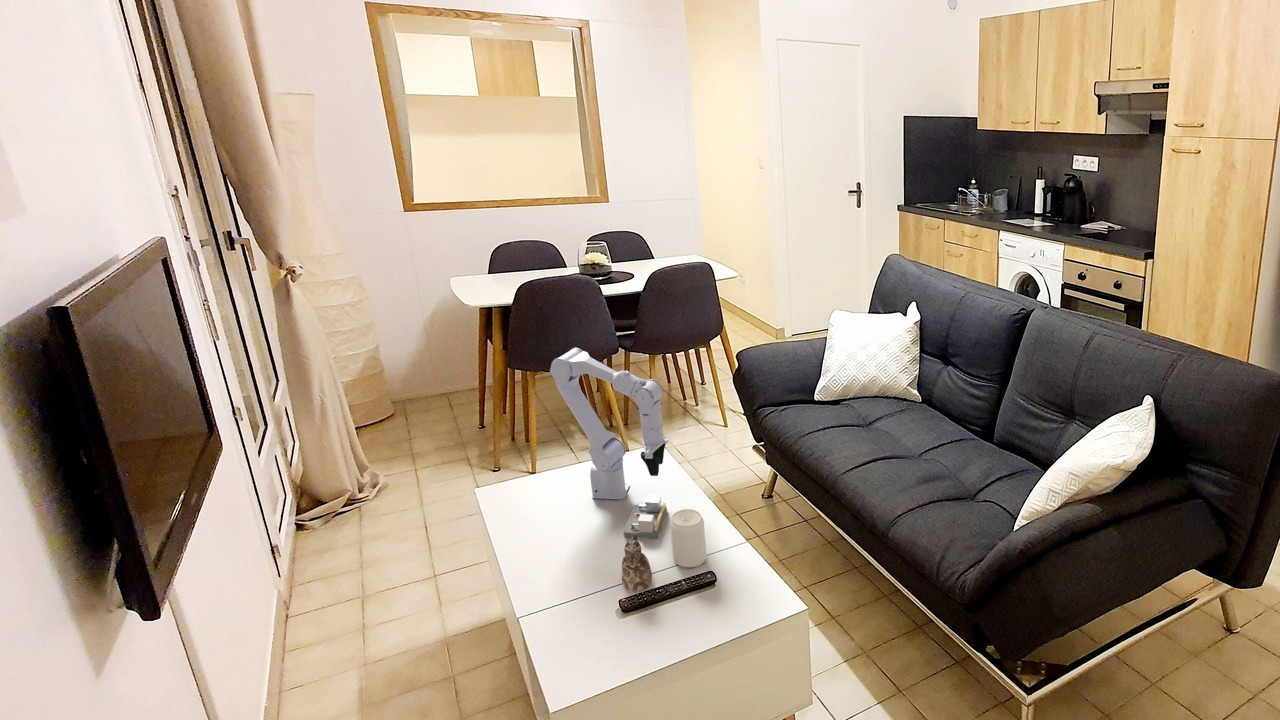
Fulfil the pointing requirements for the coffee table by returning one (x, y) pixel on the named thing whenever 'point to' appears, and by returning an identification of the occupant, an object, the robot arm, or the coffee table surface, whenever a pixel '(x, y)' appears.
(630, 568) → the figurine
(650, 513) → the board
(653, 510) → the sliding leg
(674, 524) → the beverage can
